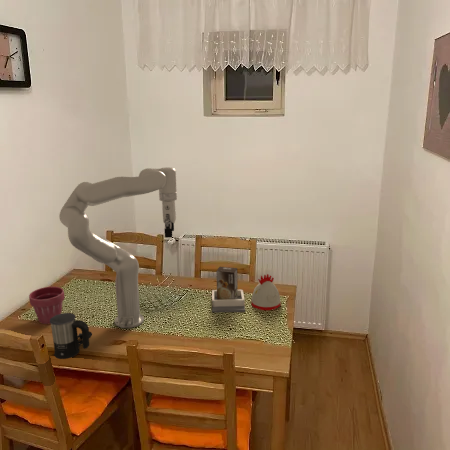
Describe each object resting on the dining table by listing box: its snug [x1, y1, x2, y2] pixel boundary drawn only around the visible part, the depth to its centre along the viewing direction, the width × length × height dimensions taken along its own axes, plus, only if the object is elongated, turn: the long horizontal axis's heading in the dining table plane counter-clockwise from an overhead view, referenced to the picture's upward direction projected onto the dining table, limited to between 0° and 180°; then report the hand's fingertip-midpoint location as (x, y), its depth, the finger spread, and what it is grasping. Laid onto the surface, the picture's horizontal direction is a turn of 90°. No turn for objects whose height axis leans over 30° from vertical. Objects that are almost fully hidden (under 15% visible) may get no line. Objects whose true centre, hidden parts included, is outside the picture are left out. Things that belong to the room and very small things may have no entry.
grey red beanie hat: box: [250, 273, 281, 311], centre depth 210 cm, size 14×14×15 cm
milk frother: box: [49, 312, 93, 360], centre depth 174 cm, size 14×16×15 cm
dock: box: [211, 289, 246, 314], centre depth 213 cm, size 20×15×4 cm
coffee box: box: [215, 266, 239, 300], centre depth 211 cm, size 9×6×16 cm
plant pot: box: [28, 286, 66, 325], centre depth 197 cm, size 14×14×13 cm
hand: (169, 234), depth 198 cm, fingers open, 9 cm apart
